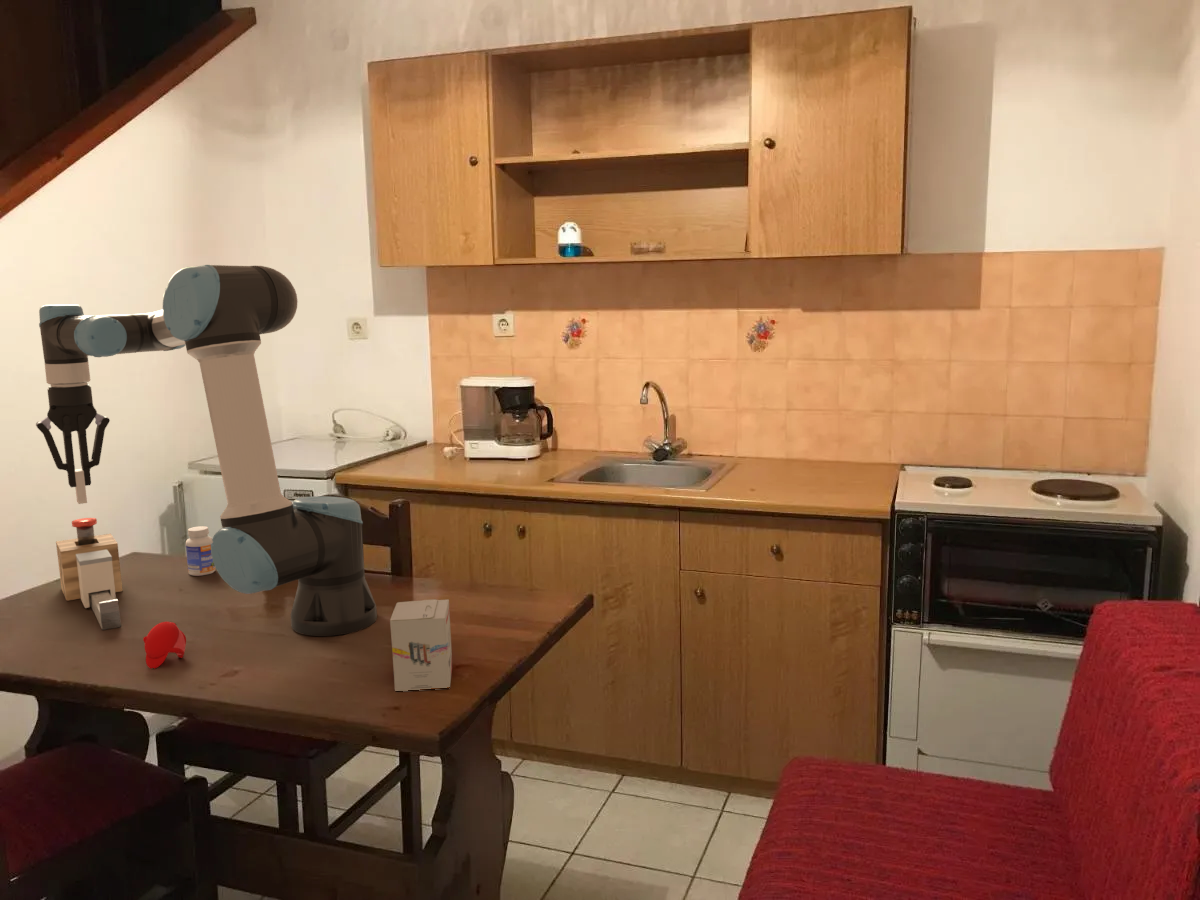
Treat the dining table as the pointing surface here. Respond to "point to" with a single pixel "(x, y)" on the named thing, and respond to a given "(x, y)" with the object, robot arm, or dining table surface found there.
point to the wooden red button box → (69, 562)
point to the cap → (163, 643)
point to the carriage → (95, 574)
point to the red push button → (85, 530)
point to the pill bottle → (199, 552)
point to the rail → (105, 609)
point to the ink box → (421, 645)
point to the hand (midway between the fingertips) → (82, 502)
